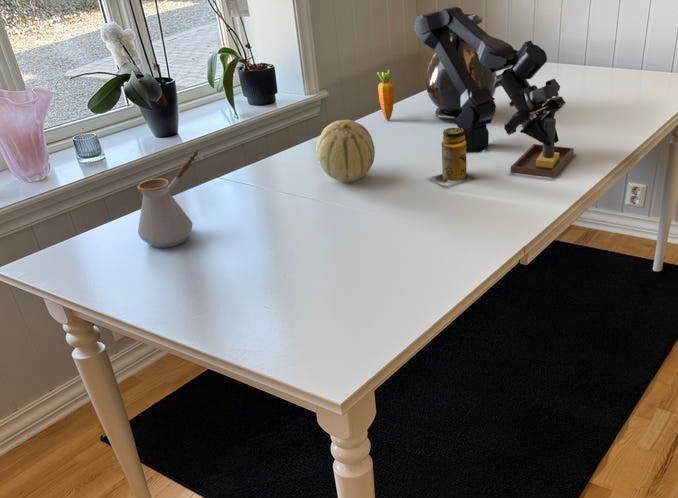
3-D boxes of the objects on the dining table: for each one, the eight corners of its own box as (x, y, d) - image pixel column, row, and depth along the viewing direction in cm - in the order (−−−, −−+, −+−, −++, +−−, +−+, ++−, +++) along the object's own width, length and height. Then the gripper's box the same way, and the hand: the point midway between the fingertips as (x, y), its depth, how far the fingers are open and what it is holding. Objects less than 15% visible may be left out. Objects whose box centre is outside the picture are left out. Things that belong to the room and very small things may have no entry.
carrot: (377, 122, 215) (373, 71, 206) (384, 117, 218) (380, 67, 210) (392, 123, 213) (388, 72, 204) (398, 118, 217) (395, 68, 208)
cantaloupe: (352, 164, 185) (346, 107, 176) (389, 177, 176) (385, 117, 168) (308, 181, 177) (299, 121, 168) (344, 194, 168) (337, 133, 159)
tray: (552, 180, 169) (553, 171, 168) (510, 174, 174) (510, 166, 172) (573, 156, 182) (574, 148, 181) (533, 151, 187) (533, 143, 185)
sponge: (553, 170, 173) (555, 124, 166) (535, 168, 174) (537, 123, 167) (559, 161, 177) (562, 116, 170) (542, 159, 179) (544, 114, 172)
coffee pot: (171, 255, 146) (152, 187, 137) (130, 247, 150) (109, 180, 141) (233, 215, 161) (219, 152, 152) (194, 209, 165) (178, 147, 157)
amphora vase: (487, 129, 204) (488, 25, 188) (418, 125, 210) (413, 24, 194) (503, 108, 221) (505, 11, 204) (438, 105, 227) (436, 10, 210)
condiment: (473, 179, 173) (473, 130, 166) (446, 187, 169) (444, 138, 162) (456, 171, 178) (455, 123, 171) (429, 179, 174) (427, 131, 167)
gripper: (515, 78, 159) (552, 134, 159) (561, 61, 170) (596, 114, 170) (488, 107, 169) (523, 161, 169) (534, 90, 179) (566, 140, 179)
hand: (553, 143), depth 171 cm, fingers closed on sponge, 3 cm apart
